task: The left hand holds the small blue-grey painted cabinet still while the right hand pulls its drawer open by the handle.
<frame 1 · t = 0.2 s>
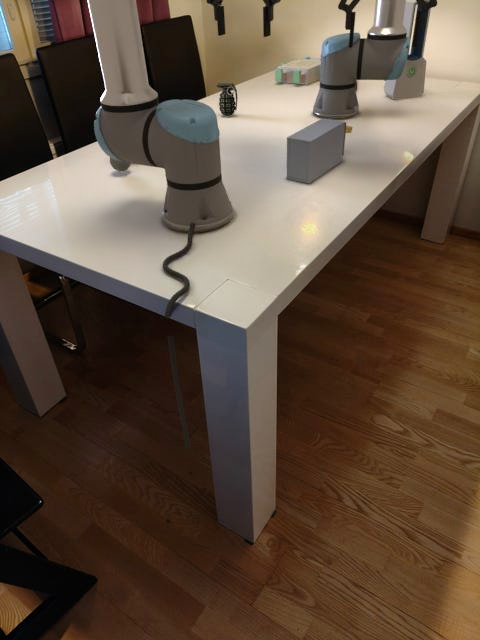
left hand: (244, 35, 129), 28 cm above the table, tool pointing down, fingers open, 13 cm apart
right hand: (381, 46, 108), 28 cm above the table, tool pointing down, fingers open, 13 cm apart
drawer: (326, 143, 126), point 5 cm above the table, slide at 1.0 cm
grenade: (228, 115, 169), on the table
cabinet: (314, 169, 126), on the table
molecular model: (145, 157, 140), on the table
decorative block: (302, 79, 208), on the table
electronic device: (402, 96, 178), on the table
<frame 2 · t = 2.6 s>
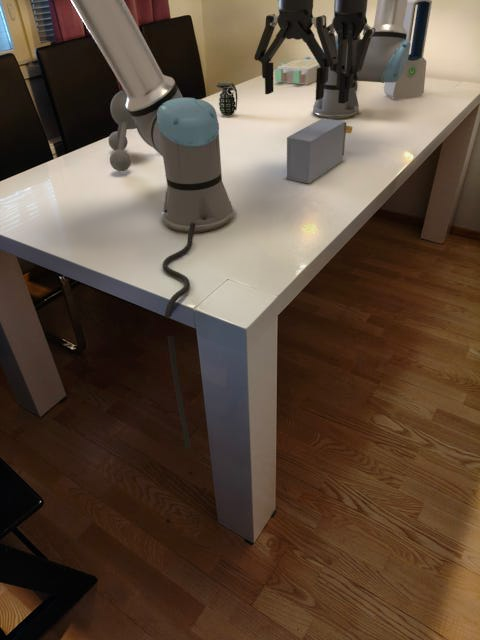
left hand: (293, 95, 116), 18 cm above the table, tool pointing down, fingers open, 13 cm apart
right hand: (343, 101, 126), 14 cm above the table, tool pointing down, fingers closed
nothing on the table moved.
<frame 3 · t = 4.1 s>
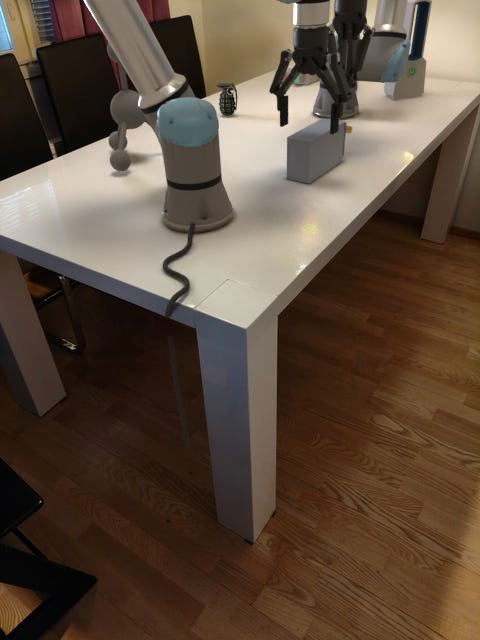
left hand: (308, 129, 116), 12 cm above the table, tool pointing down, fingers open, 13 cm apart
right hand: (343, 101, 126), 14 cm above the table, tool pointing down, fingers closed
nothing on the table moved.
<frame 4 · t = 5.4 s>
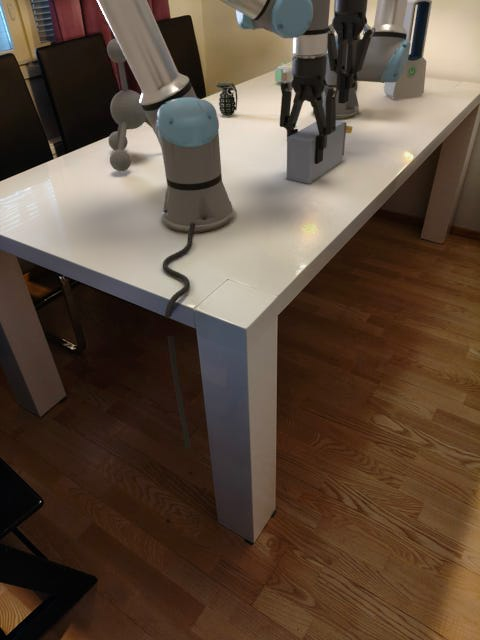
left hand: (305, 159, 120), 4 cm above the table, tool pointing down, fingers closed on cabinet, 6 cm apart
right hand: (343, 101, 126), 14 cm above the table, tool pointing down, fingers closed
cabinet: (314, 169, 126), on the table, touching left hand
everything else where it was.
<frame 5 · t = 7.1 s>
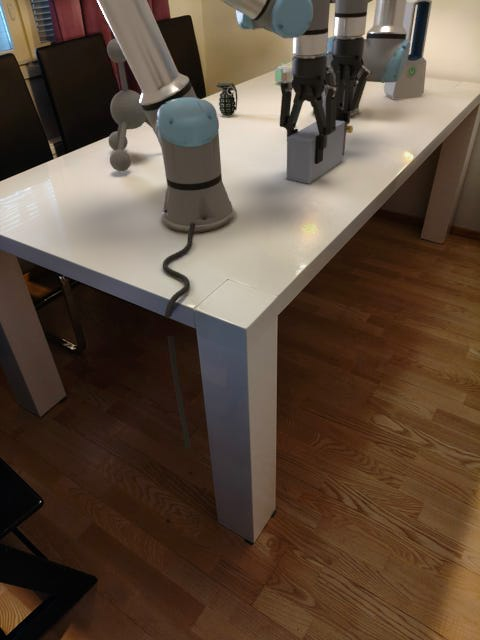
left hand: (305, 159, 120), 4 cm above the table, tool pointing down, fingers closed on cabinet, 6 cm apart
right hand: (340, 136, 132), 5 cm above the table, tool pointing down, fingers closed
drawer: (326, 143, 127), point 5 cm above the table, slide at 1.3 cm, touching right hand
cabinet: (314, 169, 126), on the table, touching left hand
everything else where it was.
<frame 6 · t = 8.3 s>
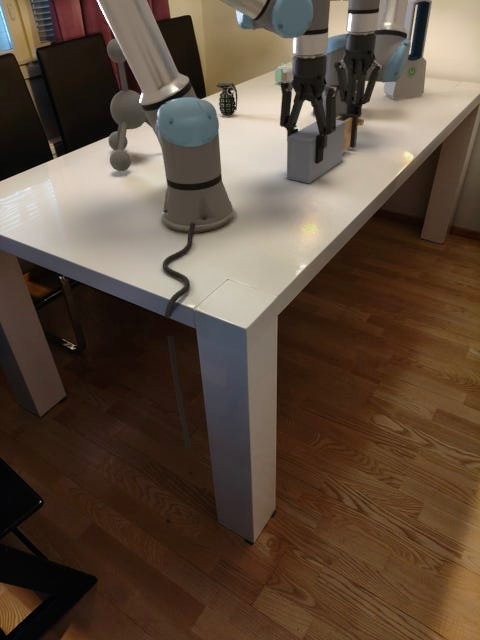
left hand: (306, 159, 120), 4 cm above the table, tool pointing down, fingers closed on cabinet, 6 cm apart
right hand: (352, 129, 136), 5 cm above the table, tool pointing down, fingers closed
drawer: (339, 135, 131), point 5 cm above the table, slide at 8.2 cm, touching right hand
cabinet: (315, 169, 126), on the table, touching left hand
everything else where it was.
when the left hand's fingers open (4 cm above the table, at t = 10.0 s): cabinet stays where it is, on the table.
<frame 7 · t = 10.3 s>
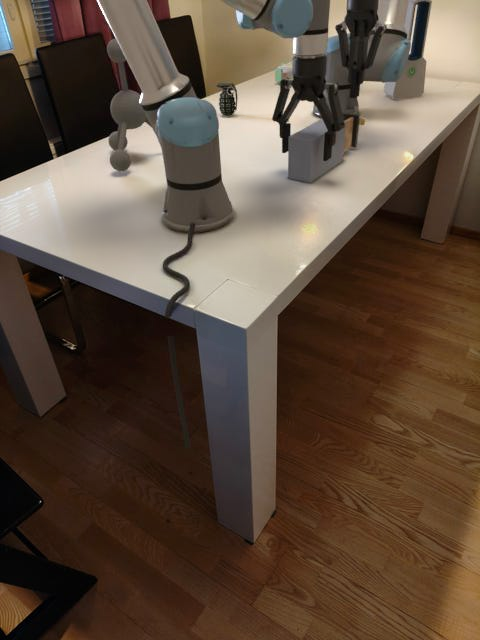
left hand: (306, 155, 120), 5 cm above the table, tool pointing down, fingers open, 11 cm apart
right hand: (354, 96, 130), 13 cm above the table, tool pointing down, fingers closed
drawer: (340, 135, 131), point 5 cm above the table, slide at 8.4 cm
cabinet: (316, 169, 127), on the table
everything else where it was.
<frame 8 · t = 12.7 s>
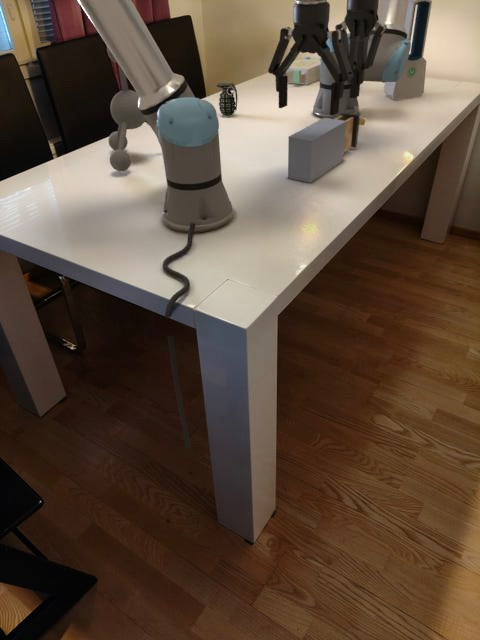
left hand: (307, 110, 113), 16 cm above the table, tool pointing down, fingers open, 13 cm apart
right hand: (354, 96, 130), 13 cm above the table, tool pointing down, fingers closed
nothing on the table moved.
at the end: drawer slide at 8.4 cm; cabinet tilted 0°; cabinet never tilted more than 3° during the clip; cabinet moved 0.6 cm from its start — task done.
